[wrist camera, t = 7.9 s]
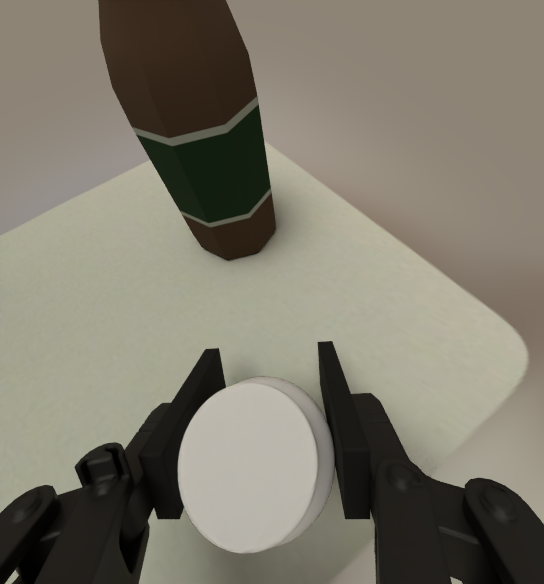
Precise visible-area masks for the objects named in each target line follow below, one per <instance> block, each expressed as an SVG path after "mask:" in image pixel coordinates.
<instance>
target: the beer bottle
mask: <svg viewBox="0 0 544 584" xmlns="http://www.w3.org/2000/svg"><path fill="white" fill-rule="evenodd" d="M98 1H99V19H100V39H101V44H102V48H103V52H104V56H105V60H106V64H107V68H108V72H109V76H110V80H111V84H112V87H113V90H114V92H115V94H116V96H117V98H118V100H119V102H120V104H121V106H122V108H123V110H124V112H125V114H126V116H127V118H128V120H129V122H130V124H131V126H132V128H133V130H134V132H135V133H136V135H137V137H138V139H139V140H140V142H141V144H142V146H143V147H144V149H145V151H146V152H147V154H148V156H149V158H150V160H151V161H152V163H153V165H154V167H155V168H156V170H157V172H158V174H159V175H160V177H161V179H162V181H163V182H164V184H165V186H166V188H167V189H168V191H169V193H170V195H171V196H172V198H173V200H174V202H175V203H176V205H177V207H178V209H179V210H180V212H181V214H182V216H183V217H184V219H185V221H186V223H187V224H188V226H189V228H190V230H191V231H192V233H193V235H194V236H195V238H196V239H197V241H198V242H199V244H200V245H201V247H203V248H205V249H207V250H209V251H211V252H213V253H215V254H217V255H219V256H221V257H223V258H225V259H227V260H230V259H234V258H238V257H242V256H246V255H250V254H254V253H258V252H259V250H260V249H261V248H262V246H263V245H264V244H265V243H266V241H267V240H268V239H269V238H270V236H271V235H272V234H273V232H274V231H275V229H276V227H275V213H274V207H273V200H272V193H271V186H270V179H269V172H268V165H267V158H266V152H265V145H264V138H263V132H262V125H261V117H260V111H259V104H258V97H257V92H256V87H255V83H254V77H253V73H252V68H251V63H250V59H249V54H248V51H247V49H246V47H245V44H244V42H243V40H242V37H241V35H240V33H239V30H238V28H237V26H236V23H235V21H234V18H233V16H232V13H231V11H230V9H229V7H228V4H227V2H226V0H98Z"/></svg>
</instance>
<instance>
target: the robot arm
mask: <svg viewBox="0 0 544 584" xmlns="http://www.w3.org/2000/svg"><path fill="white" fill-rule="evenodd" d="M318 355H319V371H320V386H321V392H322V397H323V403H324V408H325V413H326V419H327V423H328V426H329V428H330V432H331V435H332V439H333V444H334V451H335V467H336V472H337V478H338V483H339V488H340V494H341V499H342V504H343V510H344V515H345V519H370V510H371V513H372V517H373V520H374V524H375V559H376V560H375V563H376V584H452V583H451V579H450V577H453V578H455V579H458V580H460V581H462V583H463V584H544V524H543V523H542V522H541V520H540V519H539V518H538V517H537V515H536V514H535V513H534V512H533V510H532V509H531V508H530V507H529V505H528V504H527V503H526V502H525V501H523V500H522V498H521V497H520V496H519V495H518V494H516V493H515V492H513V491H512V490H510V489H509V488H507V487H506V486H505V485H502V484H500V483H498V482H495V481H493V480H490V479H484V478H475V479H470V480H469V481H468V482H467V483H466V484H465V488H461V487H458V486H454V485H451V484H447V483H443V482H440V481H437V480H435V479H432V478H430V477H429V476H427V475H425V474H424V473H423V472H422V471H421V470H420V469H419V468H418V466H417V465H415V464H414V463H412V462H411V461H410V459H409V458H408V456H407V454H406V452H405V450H404V448H403V446H402V444H401V442H400V440H399V438H398V436H397V434H396V432H395V430H394V428H393V426H392V424H391V423H390V420H389V418H388V416H387V414H386V413H385V410H384V408H383V406H382V404H381V402H380V401H379V400H378V399H377V398H376V397H375V396H374V395H372V394H371V393H361V394H351V393H350V391H349V388H348V385H347V382H346V379H345V376H344V373H343V371H342V368H341V365H340V362H339V359H338V356H337V353H336V351H335V348H334V345H333V342H332V341H327V342H318ZM224 388H226V385H225V380H224V374H223V368H222V363H221V357H220V352H219V348H216V349H205V351H204V352H203V354H202V356H201V357H200V359H199V360H198V362H197V363H196V365H195V367H194V368H193V370H192V371H191V373H190V374H189V376H188V378H187V379H186V381H185V382H184V384H183V385H182V387H181V388H180V390H179V392H178V393H177V395H176V396H175V398H174V399H173V401H172V403H162V404H160V405H159V406H158V407H157V408H156V409H154V410H153V411H152V412H151V413H150V415H149V416H148V418H147V419H146V421H145V423H144V424H143V425H142V426H141V428H140V429H139V432H137V433H136V435H135V436H134V437H133V439H132V440H131V442H130V443H129V444H128V446H127V447H126V449H125V450H124V449H123V447H122V445H121V444H119V443H116V442H115V443H107V444H104V445H101V446H99V447H97V448H95V449H93V450H92V451H90V452H89V453H87V454H86V455H85V456H84V457H83V458H81V459H80V461H79V462H78V463H77V464H76V466H75V470H76V472H77V475H78V477H79V479H80V482H81V484H82V488H79V489H76V490H73V491H69V492H66V493H63V494H60V495H57V494H56V492H55V490H54V488H53V486H49V485H43V486H39V487H36V488H34V489H32V490H29V491H27V492H25V493H24V494H23V495H21V496H20V497H18V498H17V499H15V500H14V501H13V502H12V503H11V504H9V505H8V506H7V507H6V508H5V509H4V510H3V511H2V512H1V513H0V584H5V582H6V581H7V580H8V578H9V577H10V576H11V574H12V573H13V572H14V570H16V572H17V573H18V575H19V576H18V577H17V579H16V580H15V581H14V582H13V583H12V584H139V579H140V574H141V570H142V565H143V561H144V556H145V552H146V547H147V543H148V538H149V528H150V527H149V524H148V519H149V517H150V514H151V512H152V510H153V508H154V509H155V512H156V515H157V518H158V519H180V517H181V514H182V511H183V508H184V505H183V502H182V499H181V495H180V490H179V484H178V458H179V452H180V447H181V443H182V440H183V437H184V434H185V432H186V429H187V427H188V425H189V423H190V421H191V420H192V418H193V417H194V415H195V413H196V412H197V411H198V409H199V408H200V407H201V406H202V405H203V404H204V403H205V402H206V401H207V400H208V399H209V398H210V397H211V396H213V395H214V394H215V393H217V392H218V391H220V390H222V389H224Z"/></svg>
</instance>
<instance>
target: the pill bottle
mask: <svg viewBox="0 0 544 584" xmlns="http://www.w3.org/2000/svg"><path fill="white" fill-rule="evenodd" d="M334 471H335V451H334V444H333V439H332V435H331V432H330V428H329V426H328V423H327V421H326V419H325V417H324V415H323V413H322V411H321V410H320V408H319V407H318V405H317V404H316V403H315V402H314V400H313V399H312V398H311V397H310V396H309V395H308V394H307V393H306V392H304V391H303V390H302V389H301V388H299V387H298V386H296V385H294V384H292V383H290V382H288V381H286V380H283V379H279V378H275V377H265V376H261V377H253V378H249V379H246V380H243V381H240V382H238V383H236V384H234V385H231V386H228V387H226V388H224V389H222V390H220V391H218V392H217V393H215V394H214V395H213V396H211V397H210V398H209V399H208V400H207V401H206V402H205V403H204V404H203V405H202V406H201V407H200V408H199V409H198V411H197V412H196V413H195V415H194V417H193V418H192V420H191V421H190V423H189V425H188V427H187V429H186V432H185V434H184V437H183V440H182V443H181V447H180V452H179V458H178V484H179V490H180V495H181V499H182V502H183V505H184V507H185V510H186V512H187V514H188V516H189V518H190V520H191V521H192V523H193V525H194V526H195V527H196V528H197V530H198V531H199V532H200V533H201V534H202V535H203V536H204V537H205V538H206V539H207V540H209V541H210V542H211V543H213V544H214V545H216V546H218V547H219V548H222V549H225V550H227V551H230V552H234V553H241V554H249V553H257V552H261V551H264V550H267V549H269V548H272V547H276V546H279V545H283V544H286V543H288V542H290V541H292V540H293V539H295V538H297V537H298V536H300V535H301V534H302V533H303V532H304V531H306V530H307V529H308V528H309V527H310V526H311V524H312V523H313V522H314V521H315V520H316V518H317V517H318V516H319V514H320V513H321V511H322V509H323V507H324V506H325V504H326V501H327V499H328V497H329V494H330V491H331V488H332V484H333V479H334Z"/></svg>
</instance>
